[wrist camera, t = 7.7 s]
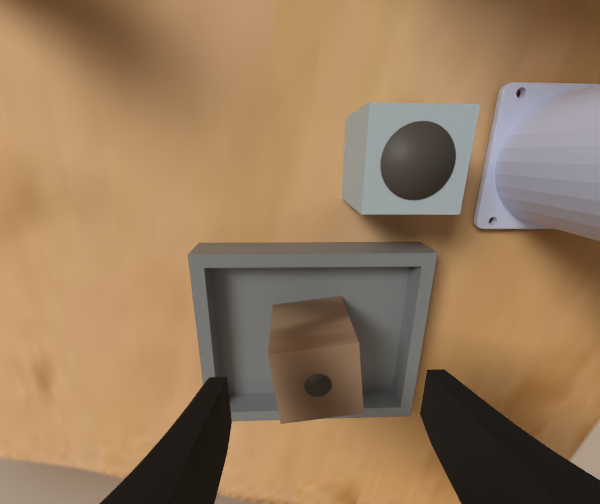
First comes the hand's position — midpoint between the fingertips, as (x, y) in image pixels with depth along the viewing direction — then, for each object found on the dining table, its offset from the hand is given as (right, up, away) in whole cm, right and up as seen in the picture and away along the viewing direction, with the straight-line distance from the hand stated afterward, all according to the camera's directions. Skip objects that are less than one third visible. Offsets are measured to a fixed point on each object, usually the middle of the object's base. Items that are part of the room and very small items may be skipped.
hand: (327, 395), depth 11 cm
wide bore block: (+4, +11, +7) cm, 13 cm away
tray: (0, 0, +10) cm, 10 cm away
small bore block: (0, 0, +9) cm, 9 cm away
